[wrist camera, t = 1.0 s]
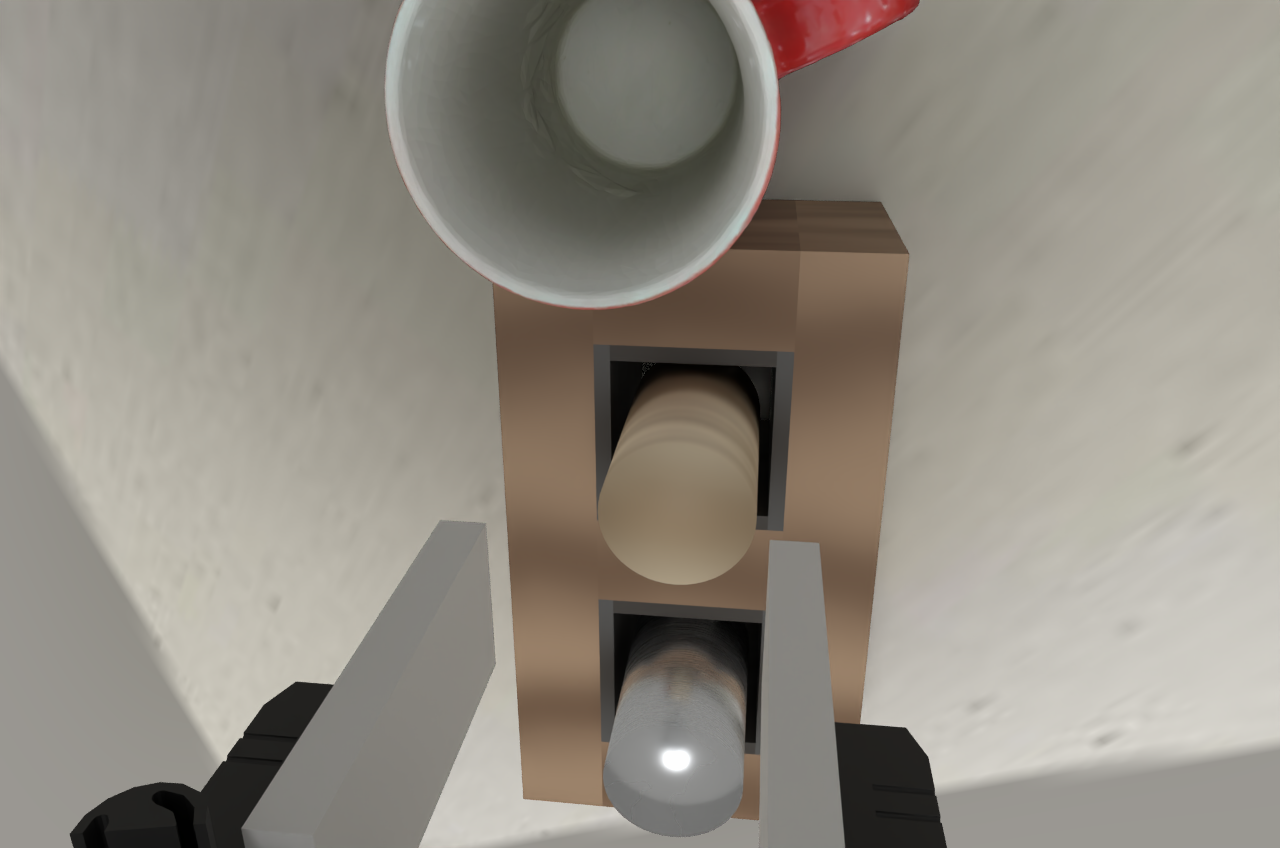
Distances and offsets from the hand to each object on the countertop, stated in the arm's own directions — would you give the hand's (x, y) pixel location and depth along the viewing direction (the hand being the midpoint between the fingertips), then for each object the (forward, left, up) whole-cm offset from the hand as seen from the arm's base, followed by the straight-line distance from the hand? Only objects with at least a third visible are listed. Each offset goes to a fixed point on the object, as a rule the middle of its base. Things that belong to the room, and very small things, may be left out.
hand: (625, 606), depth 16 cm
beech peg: (+4, 0, -18) cm, 18 cm away
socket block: (+8, 0, -23) cm, 24 cm away
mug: (-7, -1, -23) cm, 24 cm away
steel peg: (+13, 0, -18) cm, 22 cm away
